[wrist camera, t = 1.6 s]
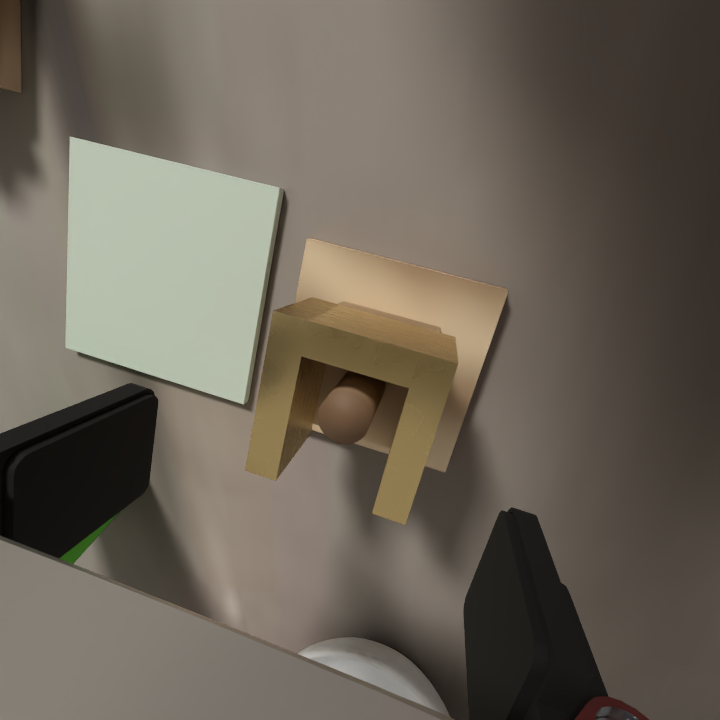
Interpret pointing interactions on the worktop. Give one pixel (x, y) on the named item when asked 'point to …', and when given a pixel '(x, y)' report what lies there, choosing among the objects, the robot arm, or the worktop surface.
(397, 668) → the spoon rest
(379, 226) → the worktop surface
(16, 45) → the clip holder
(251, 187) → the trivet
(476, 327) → the peg stand
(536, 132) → the worktop surface
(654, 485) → the worktop surface
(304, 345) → the c link
